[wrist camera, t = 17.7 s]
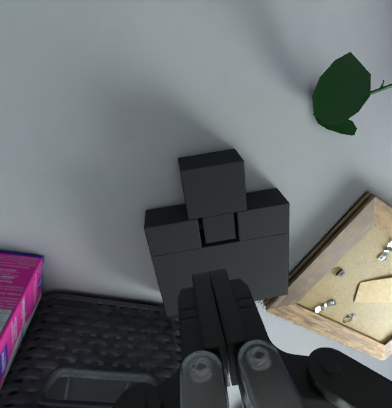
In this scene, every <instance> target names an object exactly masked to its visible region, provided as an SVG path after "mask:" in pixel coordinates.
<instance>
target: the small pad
mask: <svg viewBox="0 0 392 408" xmlns="http://www.w3.org/2000/svg"><path fill="white" fill-rule="evenodd" d="M178 161H179V167H180V173H181V179H182V185H183V191H184V197H185V202H186V208H187V214H188V219H189V220H191V219H197V218H201V224H202V229H203V233H204V237H205V241H206V243H212V242H217V241H223V240H229V239H234V238H236V237H235V225H234V214H233V212H238V211H244V210H247V205H246V189H245V173H244V160H243V159H242V158H241V156H240V155H239V154H238V152H237V151H236V150H235V149H230V150H224V151H218V152H212V153H206V154H200V155H194V156H188V157H182V158H178Z"/></svg>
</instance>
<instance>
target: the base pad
mask: <svg viewBox="0 0 392 408" xmlns="http://www.w3.org/2000/svg"><path fill="white" fill-rule="evenodd" d="M246 205H247V210H244V211H238V212H233V214H234V225H235V237H236V238H234V239H229V240H223V241H217V242H212V243H206V241H205V237H204V233H203V229H199V226H198V219H191V220H189V219H188V214H187V208H186V204H182V205H176V206H170V207H165V208H159V209H153V210H147V211H146V213H145V224H144V230H145V234H146V238H147V242H148V245H149V249H150V253H151V257H152V261H153V265H154V269H155V273H156V276H157V280H158V284H159V288H160V292H161V296H162V299H163V303H164V307H165V311H166V315H167V317H169V316H174V315H179V314H178V303H177V298H178V296H179V293H180V291H181V289H185V288H190V287H193V281H192V274H197V273H203V272H208V274H209V271H213V270H218V269H224V268H226V271H227V274H228V277H229V280H233V279H238V278H240V279H241V280H243V281H244V282H245V283H246V284H247V285H248V287H249V289H250V292H251V294H252V297H253V299H254V301H256V300H262V299H267V298H273V297H278V296H284V295H288V269H289V202H288V201H287V200H286V198H285V197H284V196H283V195H282V194H281V193H280V191H279V190H278V189H277V188H275V189H269V190H263V191H257V192H252V193H246ZM209 278H210V276H209Z"/></svg>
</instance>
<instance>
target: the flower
mask: <svg viewBox="0 0 392 408" xmlns="http://www.w3.org/2000/svg"><path fill="white" fill-rule="evenodd" d="M370 83H371V74H370V73H369V72H368V71H367V70H366V69H365V67H364V66H363V65H362V64H361V63H360V62H359V61H358V60H357V58H356V57H355V56H354V55H353V54H352V53H351V52H349V53H348V54H346V55H344V56H342V57H340V58H338V59H337V60H335V61H334V62H333V63H332V65H331V66H330V67H329V68H328V69H327V70H326V71H325V72H324V73H323V75H322V76H321V77H320V78H319V81H318V83H317V86H316V88H315V91H314V93H313V95H312V99H313V111H314V114H313V115H314V116H315V118H316V120H317V122H318V124H320V125H321V126H323V127H325V128H326V129H328V130H332V131H335V132H338V133H341V134H346V135H354V134H355V132H356V129H357V128H356V126H355V125H354V123H353V122H352V121H351V120H349V118H350V117H352V116H353V115H354V114H356V113H357V112H359V110H360V109H361V107H362V106H363V105H364V103H365V102H366V101H367V99H368V98H369V96H370V95H371V94H374V93H377V92H379V91H382V90H385V89H388V88H390V87H392V84H389V85H387V86H384V87H383V84H384V80H383V83H382V85H381V87H380V88H379V89H376V90H373V91H371V92H370Z"/></svg>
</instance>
